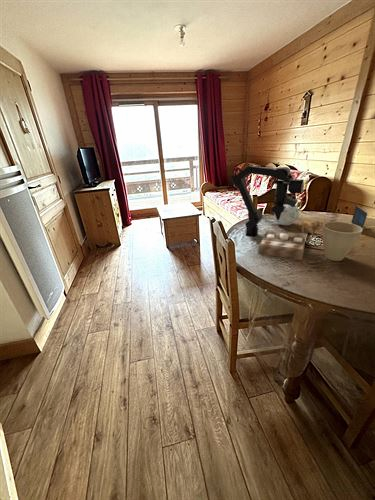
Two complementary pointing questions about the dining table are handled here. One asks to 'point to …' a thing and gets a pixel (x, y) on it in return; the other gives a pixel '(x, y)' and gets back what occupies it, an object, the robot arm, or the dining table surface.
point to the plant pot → (339, 239)
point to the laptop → (359, 217)
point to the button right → (298, 239)
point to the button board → (282, 245)
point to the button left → (270, 236)
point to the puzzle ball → (288, 215)
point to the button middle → (284, 236)
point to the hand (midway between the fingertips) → (278, 219)
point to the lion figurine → (312, 226)
